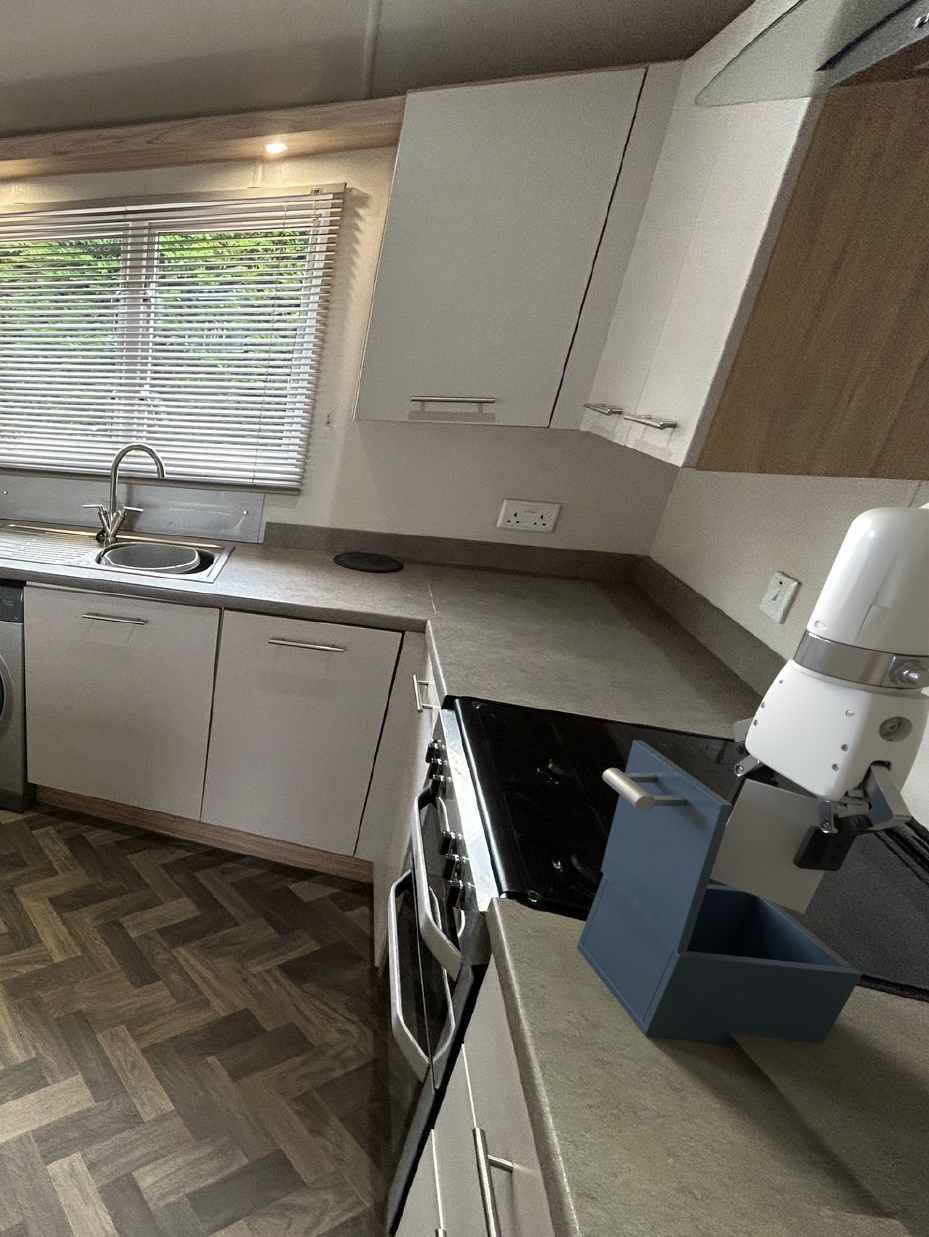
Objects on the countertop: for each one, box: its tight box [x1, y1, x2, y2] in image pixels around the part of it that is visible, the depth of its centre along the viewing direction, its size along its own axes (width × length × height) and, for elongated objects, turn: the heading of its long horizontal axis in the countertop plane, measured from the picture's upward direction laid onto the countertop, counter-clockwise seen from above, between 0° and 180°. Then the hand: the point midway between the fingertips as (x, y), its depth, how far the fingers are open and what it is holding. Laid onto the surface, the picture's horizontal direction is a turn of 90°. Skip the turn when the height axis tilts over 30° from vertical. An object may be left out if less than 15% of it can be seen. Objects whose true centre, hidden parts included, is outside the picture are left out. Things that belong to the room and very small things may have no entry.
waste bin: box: [576, 874, 862, 1048], centre depth 71 cm, size 15×12×10 cm
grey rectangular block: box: [709, 779, 848, 914], centre depth 66 cm, size 4×7×10 cm, turn 41°
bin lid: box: [600, 739, 732, 952], centre depth 68 cm, size 15×12×5 cm
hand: (777, 839), depth 66 cm, fingers closed on grey rectangular block, 7 cm apart
